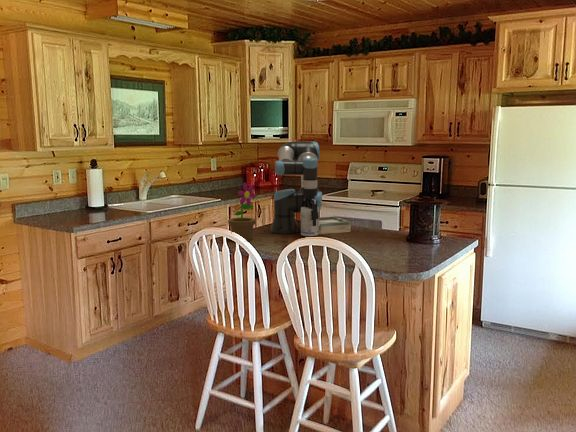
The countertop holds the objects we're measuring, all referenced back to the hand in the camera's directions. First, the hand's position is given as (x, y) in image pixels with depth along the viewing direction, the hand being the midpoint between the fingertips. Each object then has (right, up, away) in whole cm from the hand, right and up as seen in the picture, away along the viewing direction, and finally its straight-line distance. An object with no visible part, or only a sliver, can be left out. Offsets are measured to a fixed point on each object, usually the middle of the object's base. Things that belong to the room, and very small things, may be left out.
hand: (309, 230), depth 288 cm
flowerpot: (-35, -5, -6) cm, 36 cm away
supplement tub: (0, -3, 0) cm, 3 cm away
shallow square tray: (+10, 0, +20) cm, 22 cm away
